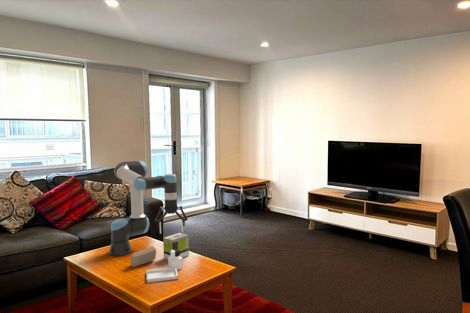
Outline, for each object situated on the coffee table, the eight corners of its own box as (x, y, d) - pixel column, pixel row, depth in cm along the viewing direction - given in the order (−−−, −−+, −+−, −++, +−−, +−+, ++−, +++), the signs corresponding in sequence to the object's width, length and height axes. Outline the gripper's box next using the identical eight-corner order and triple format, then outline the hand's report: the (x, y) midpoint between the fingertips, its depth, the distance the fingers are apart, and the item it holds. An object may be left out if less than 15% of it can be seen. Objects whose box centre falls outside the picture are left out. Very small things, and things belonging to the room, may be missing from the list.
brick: (133, 257, 217) (130, 253, 220) (133, 268, 220) (129, 263, 223) (157, 249, 228) (153, 245, 231) (156, 259, 230) (152, 255, 234)
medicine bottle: (177, 265, 223) (177, 247, 223) (183, 268, 218) (183, 250, 217) (167, 268, 219) (167, 249, 218) (173, 271, 213) (172, 252, 213)
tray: (146, 273, 210) (146, 270, 210) (176, 270, 215) (176, 267, 214) (146, 282, 197) (146, 279, 197) (178, 279, 201) (178, 275, 201)
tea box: (179, 252, 247) (179, 232, 246) (189, 255, 240) (189, 234, 239) (163, 258, 235) (162, 237, 234) (172, 261, 229) (172, 240, 228)
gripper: (150, 201, 208) (151, 235, 210) (191, 199, 214) (191, 232, 216) (150, 198, 216) (151, 232, 217) (190, 196, 222) (190, 229, 223)
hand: (171, 232), depth 216 cm, fingers open, 13 cm apart
